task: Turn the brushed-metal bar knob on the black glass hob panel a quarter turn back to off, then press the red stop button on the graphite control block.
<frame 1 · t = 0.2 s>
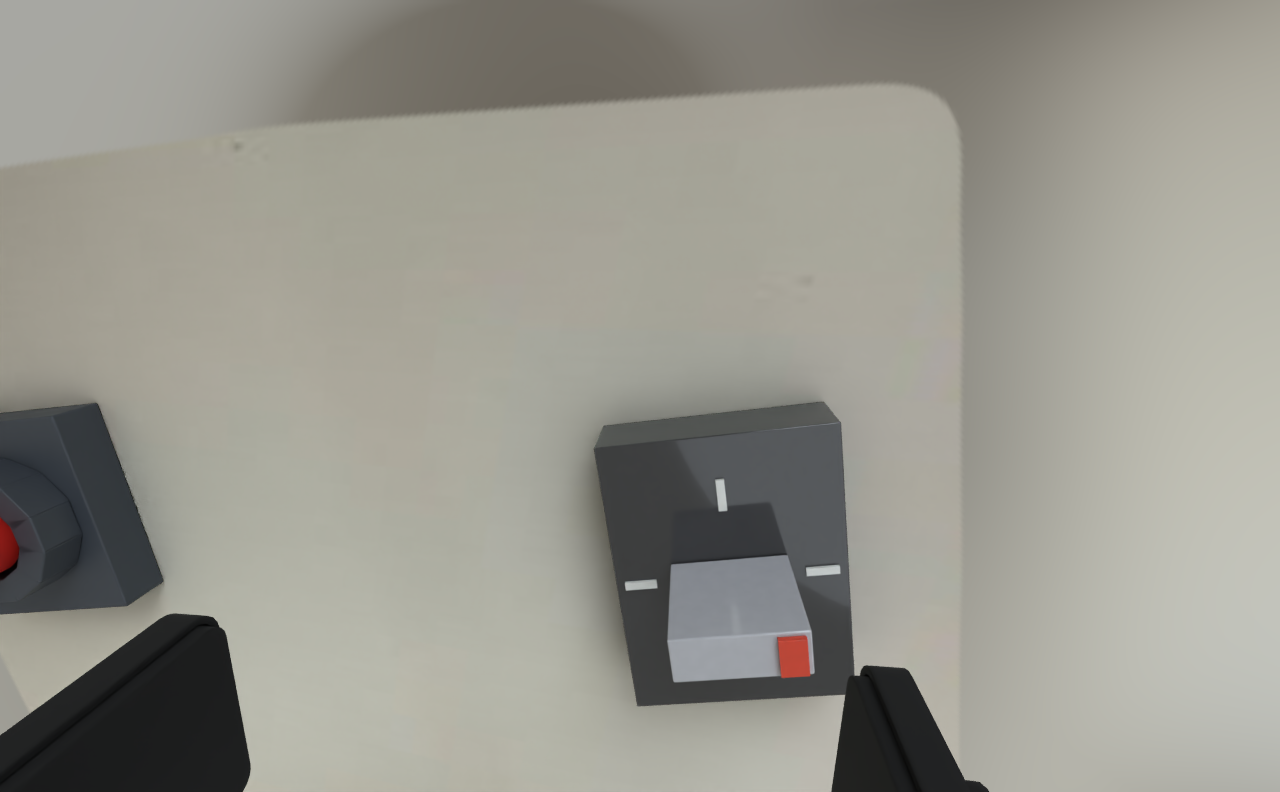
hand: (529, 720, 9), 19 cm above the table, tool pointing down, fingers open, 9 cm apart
stop block: (63, 501, 31), on the table
hob panel: (725, 541, 28), on the table
hob knob: (735, 615, 23), point 6 cm above the table, hinge at 90.0°
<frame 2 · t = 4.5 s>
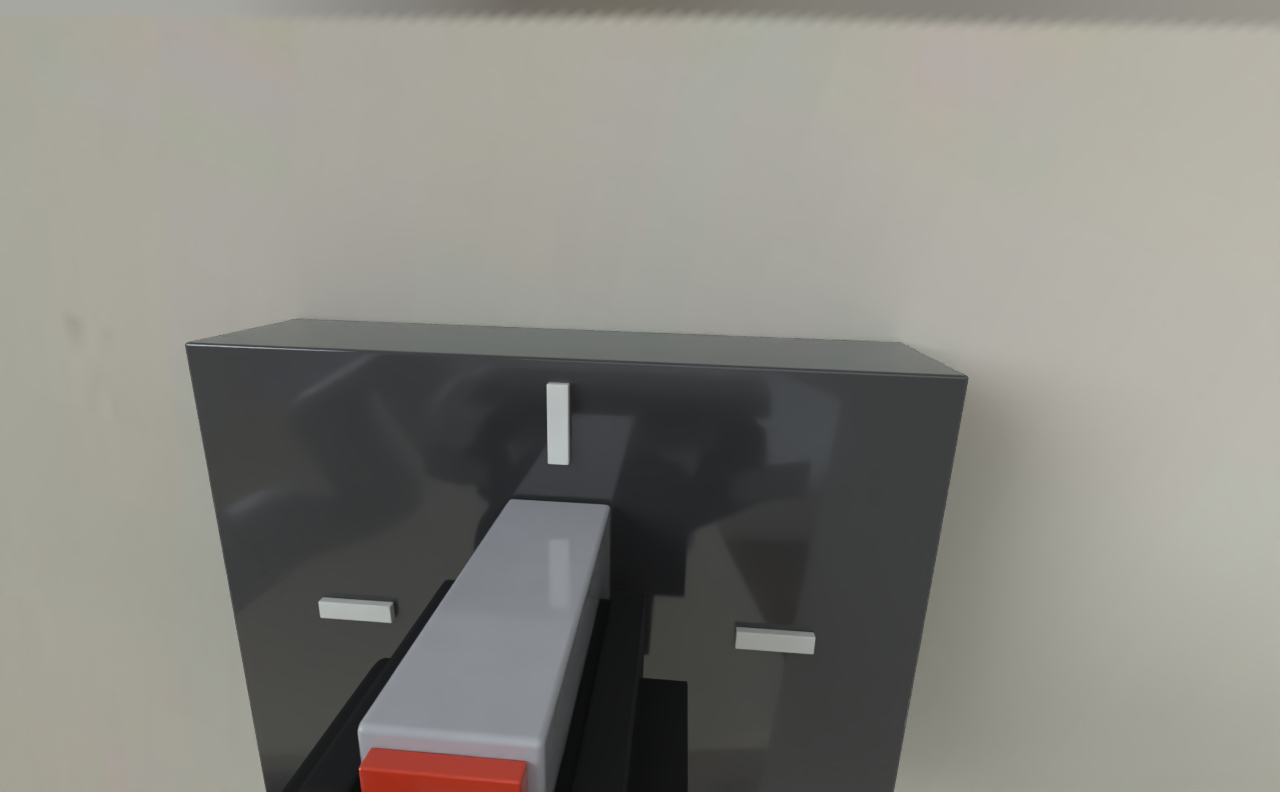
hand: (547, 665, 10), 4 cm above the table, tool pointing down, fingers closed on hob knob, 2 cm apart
hob panel: (587, 541, 14), on the table
hob knob: (523, 740, 8), point 6 cm above the table, hinge at 90.0°, touching gripper
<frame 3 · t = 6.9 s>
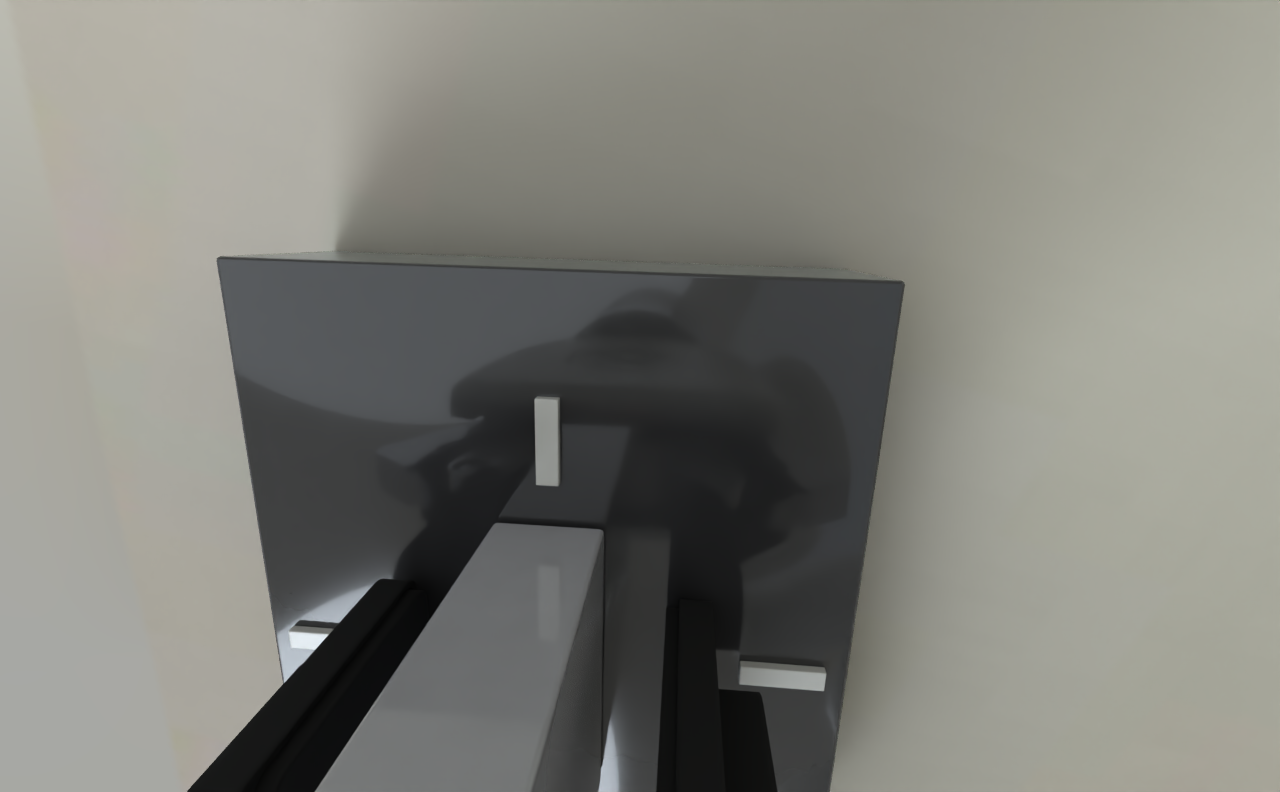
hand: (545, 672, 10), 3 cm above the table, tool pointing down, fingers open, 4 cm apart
hob panel: (581, 561, 13), on the table
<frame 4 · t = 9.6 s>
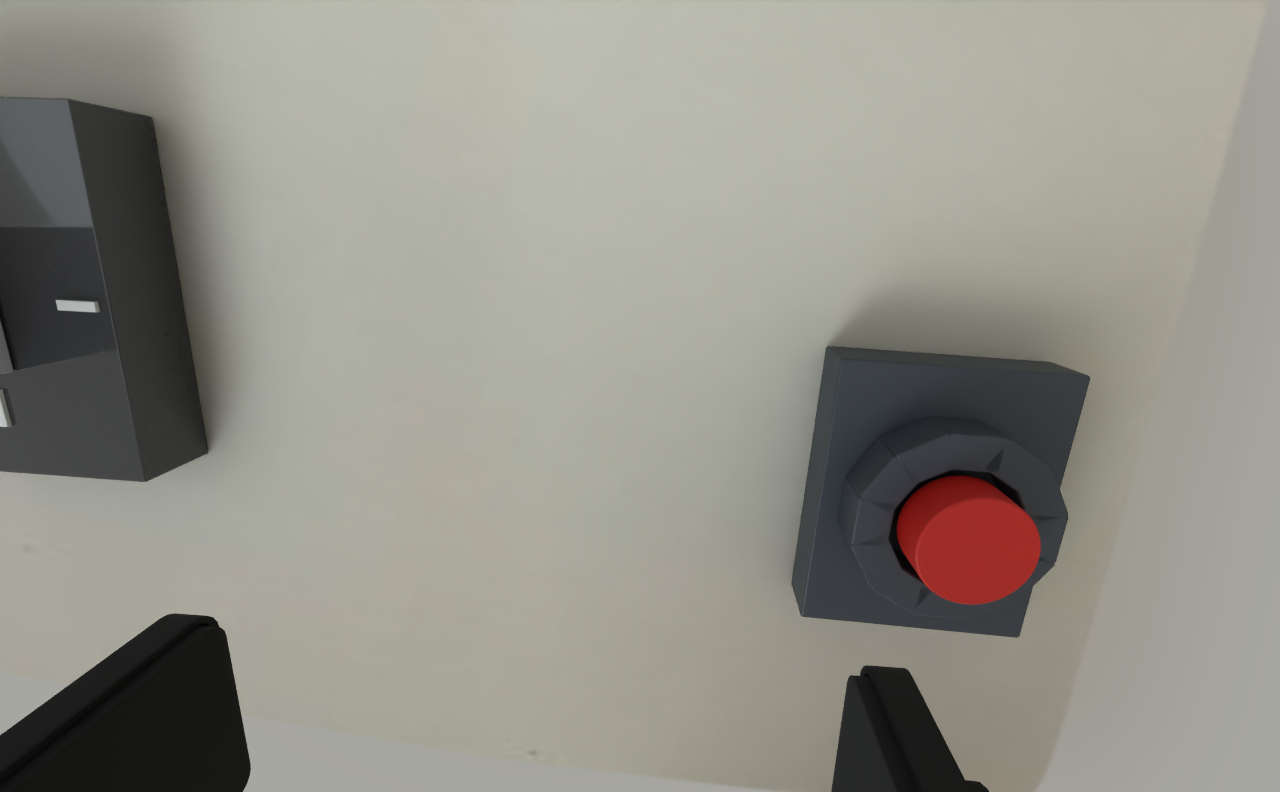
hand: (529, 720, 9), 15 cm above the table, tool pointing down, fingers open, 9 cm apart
stop block: (912, 480, 23), on the table
hob panel: (62, 291, 23), on the table
stop button: (964, 538, 18), point 4 cm above the table, slide at 0.1 cm
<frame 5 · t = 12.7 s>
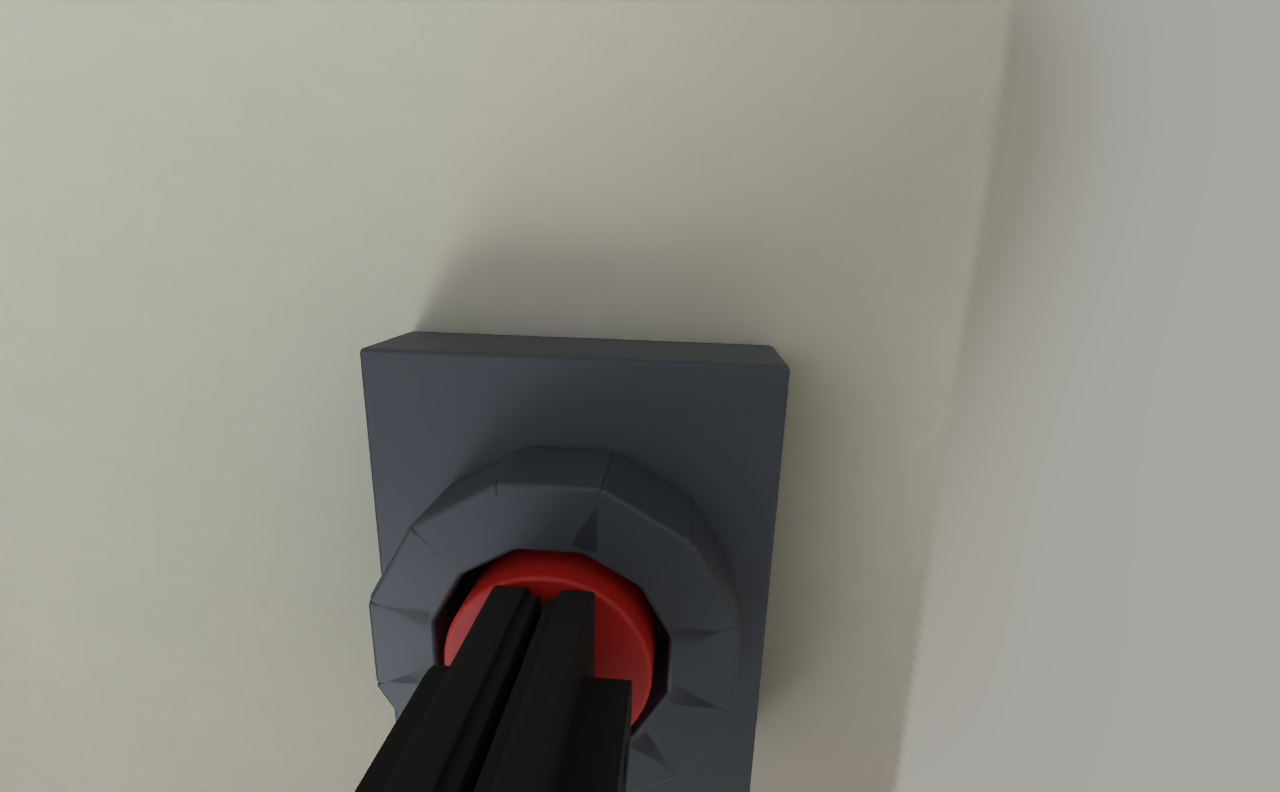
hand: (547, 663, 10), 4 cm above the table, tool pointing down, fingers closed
stop block: (587, 543, 14), on the table
stop button: (556, 637, 11), point 3 cm above the table, slide at -0.9 cm, touching gripper
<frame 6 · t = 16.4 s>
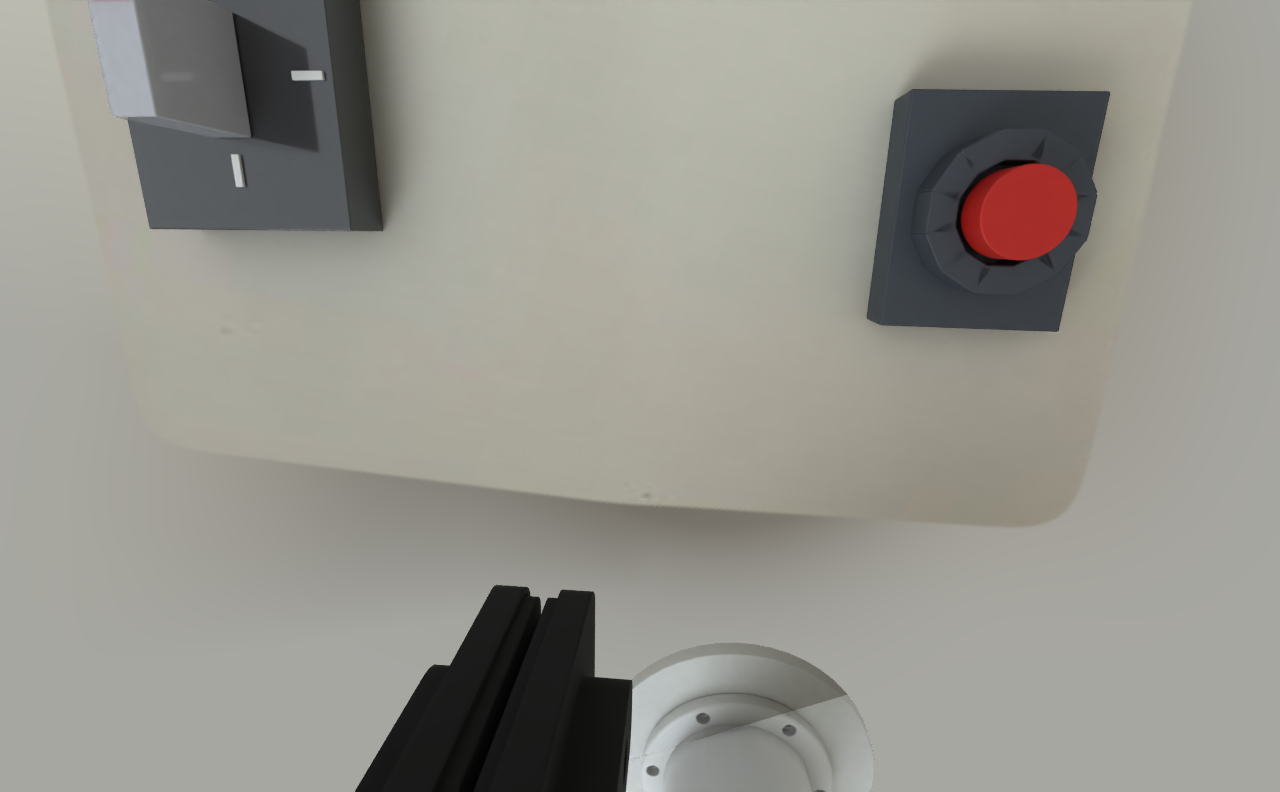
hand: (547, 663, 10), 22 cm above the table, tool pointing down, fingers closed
stop block: (965, 216, 28), on the table
hob panel: (270, 92, 29), on the table
hob knob: (173, 59, 23), point 6 cm above the table, hinge at 0.1°
stop button: (1016, 213, 24), point 4 cm above the table, slide at 0.1 cm
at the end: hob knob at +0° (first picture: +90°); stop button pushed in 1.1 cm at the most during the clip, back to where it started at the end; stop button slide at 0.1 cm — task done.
